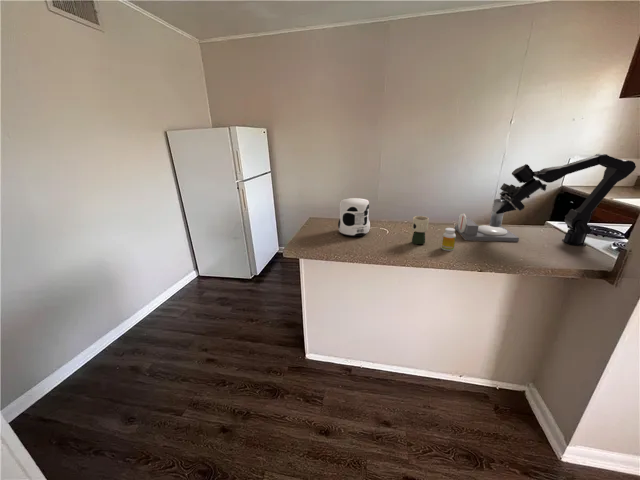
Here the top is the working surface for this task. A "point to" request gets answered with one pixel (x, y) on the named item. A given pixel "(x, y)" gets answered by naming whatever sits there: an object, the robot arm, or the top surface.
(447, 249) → the supplement bottle
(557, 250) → the top surface
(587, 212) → the robot arm
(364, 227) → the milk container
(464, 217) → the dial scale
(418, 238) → the character mug
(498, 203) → the ball
